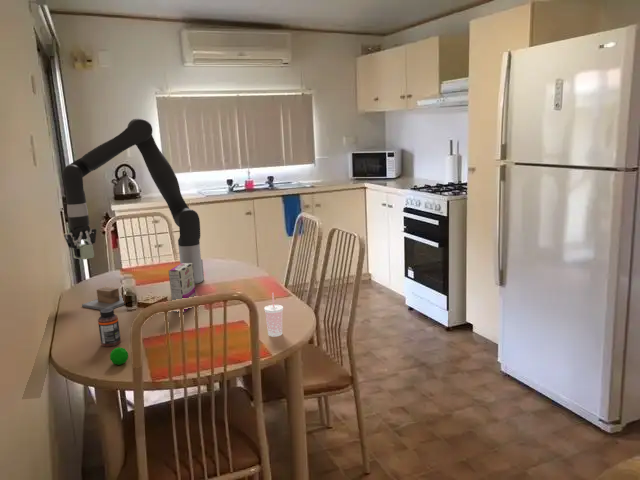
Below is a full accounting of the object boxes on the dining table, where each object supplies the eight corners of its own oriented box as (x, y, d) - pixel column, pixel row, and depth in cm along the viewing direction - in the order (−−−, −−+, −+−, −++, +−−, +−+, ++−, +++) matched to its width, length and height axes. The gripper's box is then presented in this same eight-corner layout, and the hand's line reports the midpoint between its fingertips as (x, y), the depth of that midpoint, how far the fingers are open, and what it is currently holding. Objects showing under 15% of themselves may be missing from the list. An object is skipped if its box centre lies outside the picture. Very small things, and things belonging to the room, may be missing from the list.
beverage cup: (282, 337, 170) (279, 295, 167) (263, 337, 171) (260, 295, 168) (286, 330, 176) (284, 290, 173) (268, 330, 177) (266, 289, 174)
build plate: (110, 296, 222) (110, 294, 222) (135, 300, 215) (135, 298, 215) (82, 306, 210) (82, 304, 210) (107, 311, 203) (107, 308, 203)
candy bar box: (185, 303, 209) (181, 262, 206) (197, 303, 208) (193, 262, 205) (171, 312, 199) (167, 270, 195) (184, 313, 198) (180, 270, 194)
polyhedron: (115, 360, 158) (114, 344, 157) (131, 360, 157) (130, 344, 156) (107, 367, 153) (105, 351, 152) (124, 367, 152) (122, 351, 151)
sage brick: (83, 255, 221) (81, 243, 220) (94, 257, 218) (92, 245, 217) (73, 258, 217) (71, 246, 216) (84, 259, 214) (83, 247, 213)
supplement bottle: (104, 340, 173) (100, 307, 171) (123, 339, 174) (119, 306, 171) (98, 348, 167) (94, 313, 165) (117, 346, 168) (113, 312, 166)
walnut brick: (107, 298, 216) (105, 286, 215) (119, 300, 213) (118, 288, 212) (98, 301, 212) (96, 289, 211) (110, 303, 209) (109, 291, 208)
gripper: (68, 218, 206) (75, 260, 209) (99, 212, 218) (104, 252, 222) (56, 217, 209) (62, 259, 213) (86, 211, 222) (92, 251, 225)
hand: (83, 255), depth 217 cm, fingers closed on sage brick, 4 cm apart
